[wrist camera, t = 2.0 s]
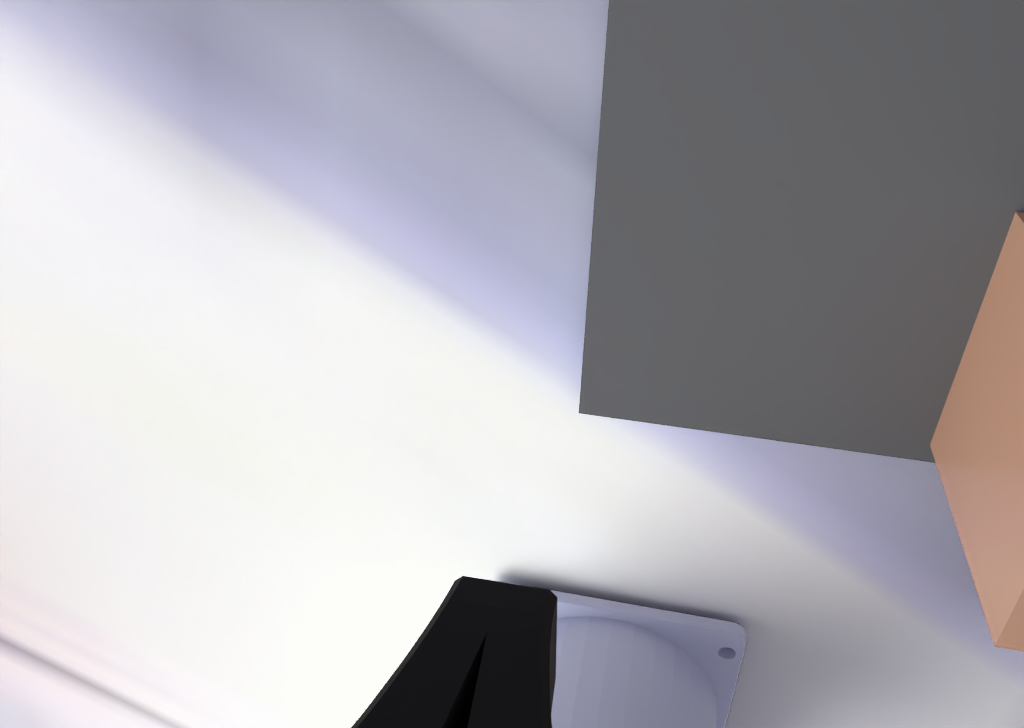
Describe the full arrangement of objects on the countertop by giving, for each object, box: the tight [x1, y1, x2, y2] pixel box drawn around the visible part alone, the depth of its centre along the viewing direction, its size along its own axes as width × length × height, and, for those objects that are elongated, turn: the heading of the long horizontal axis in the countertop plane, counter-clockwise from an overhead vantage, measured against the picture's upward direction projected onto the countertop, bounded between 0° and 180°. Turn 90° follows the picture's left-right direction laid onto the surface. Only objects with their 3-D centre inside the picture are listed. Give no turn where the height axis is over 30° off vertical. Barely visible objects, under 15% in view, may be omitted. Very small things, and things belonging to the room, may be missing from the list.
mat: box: [579, 0, 1024, 463], centre depth 17 cm, size 12×17×1 cm
